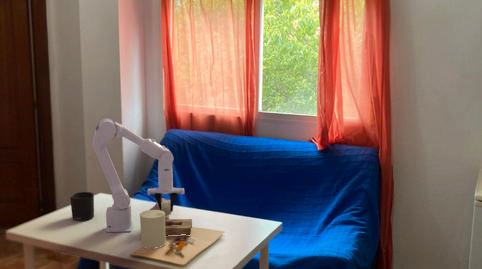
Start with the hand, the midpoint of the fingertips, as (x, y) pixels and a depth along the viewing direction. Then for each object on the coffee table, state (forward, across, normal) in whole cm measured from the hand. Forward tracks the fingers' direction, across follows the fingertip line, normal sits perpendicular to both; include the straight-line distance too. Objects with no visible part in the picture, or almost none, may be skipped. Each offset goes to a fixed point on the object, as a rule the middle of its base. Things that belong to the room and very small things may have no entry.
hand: (166, 211), depth 205 cm
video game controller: (+6, -5, +15) cm, 17 cm away
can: (+6, -2, -21) cm, 22 cm away
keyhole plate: (+5, +4, -9) cm, 11 cm away
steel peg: (+5, 0, 0) cm, 5 cm away
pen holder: (+6, -36, +8) cm, 37 cm away
